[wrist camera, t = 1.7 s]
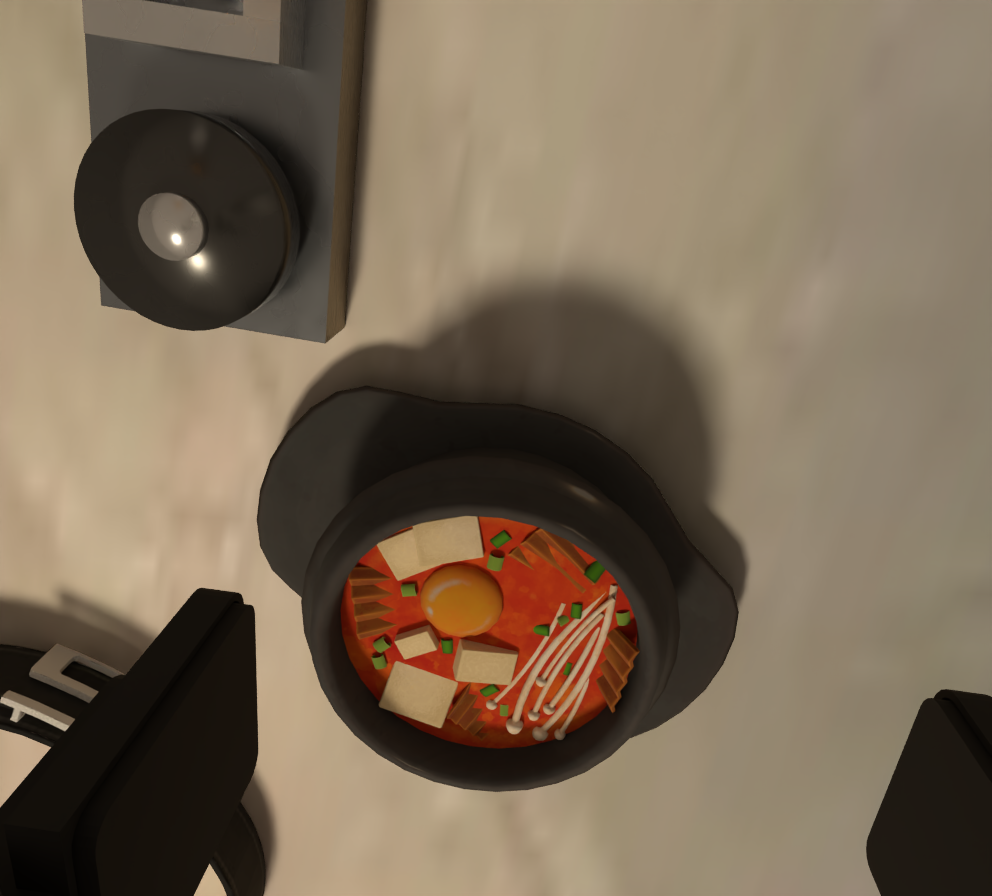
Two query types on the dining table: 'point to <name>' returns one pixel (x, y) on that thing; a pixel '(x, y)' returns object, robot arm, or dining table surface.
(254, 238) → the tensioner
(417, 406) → the casserole
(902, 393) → the dining table surface
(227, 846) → the belt
